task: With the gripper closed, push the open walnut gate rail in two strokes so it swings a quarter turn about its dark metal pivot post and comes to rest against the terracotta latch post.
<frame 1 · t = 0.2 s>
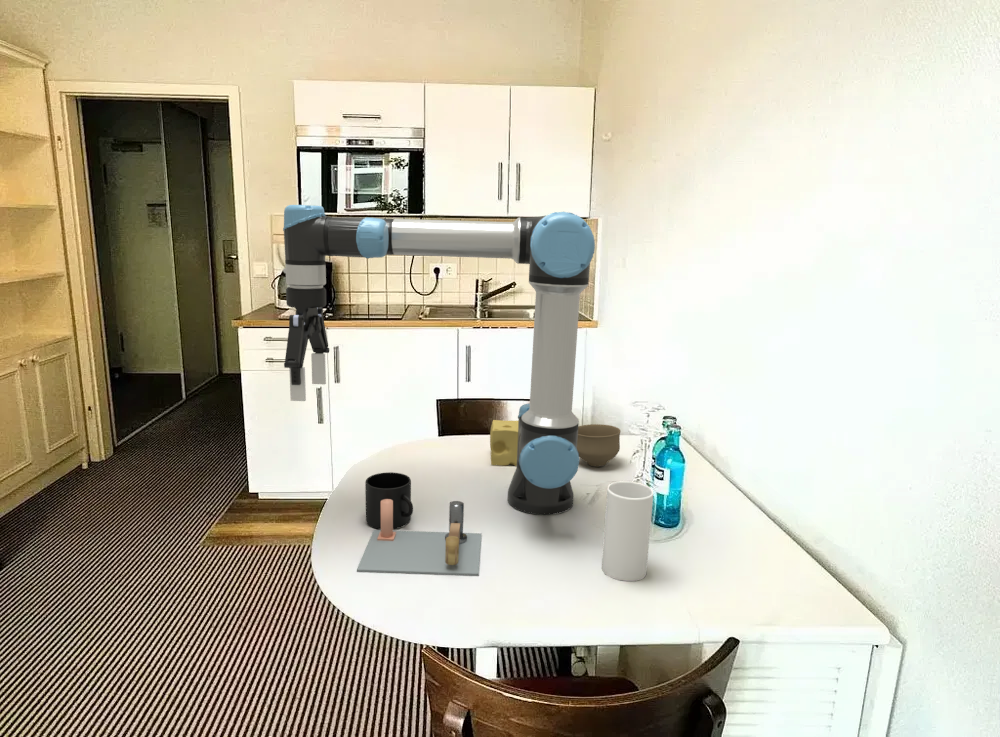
hand: (309, 392, 134), 28 cm above the table, fingers open, 13 cm apart
cheese: (509, 460, 180), on the table
latch post: (386, 538, 133), resting on mat
mug: (392, 523, 140), on the table
gate: (453, 540, 125), point 4 cm above the table, hinge at 90.0°
bowl: (594, 464, 179), on the table
mat: (422, 552, 128), on the table
cup: (623, 570, 124), on the table
pivot post: (455, 541, 133), resting on mat
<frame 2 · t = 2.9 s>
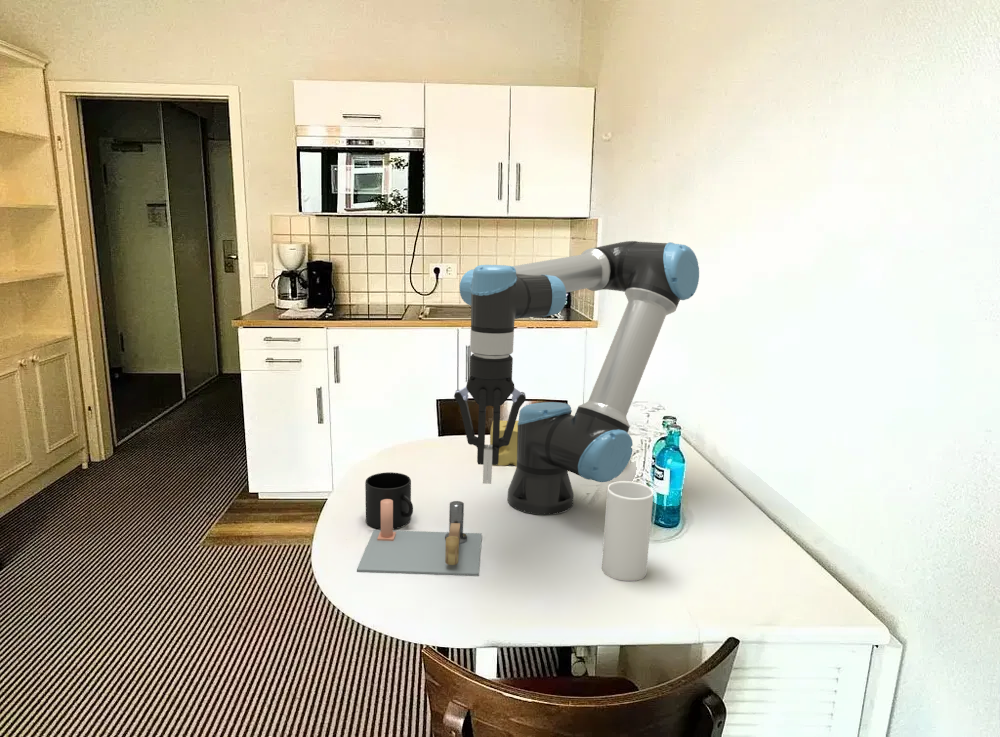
hand: (487, 480, 122), 16 cm above the table, fingers closed
nothing on the table moved.
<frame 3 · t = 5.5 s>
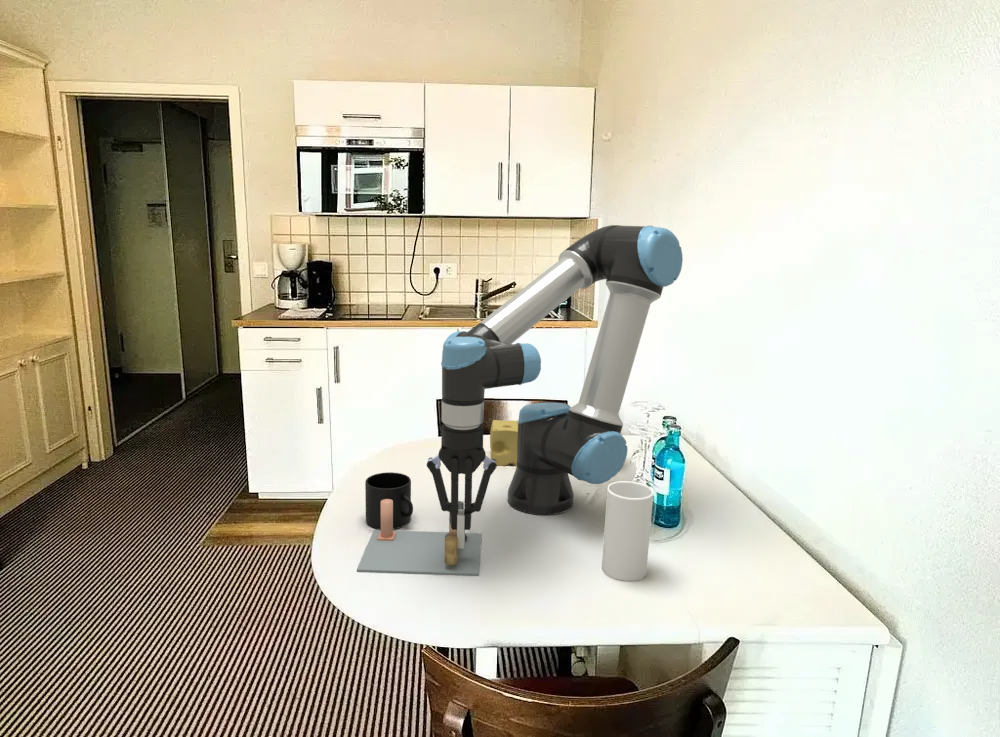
hand: (460, 544, 124), 3 cm above the table, fingers closed
gate: (453, 540, 125), point 4 cm above the table, hinge at 89.1°, touching gripper
everything else where it was.
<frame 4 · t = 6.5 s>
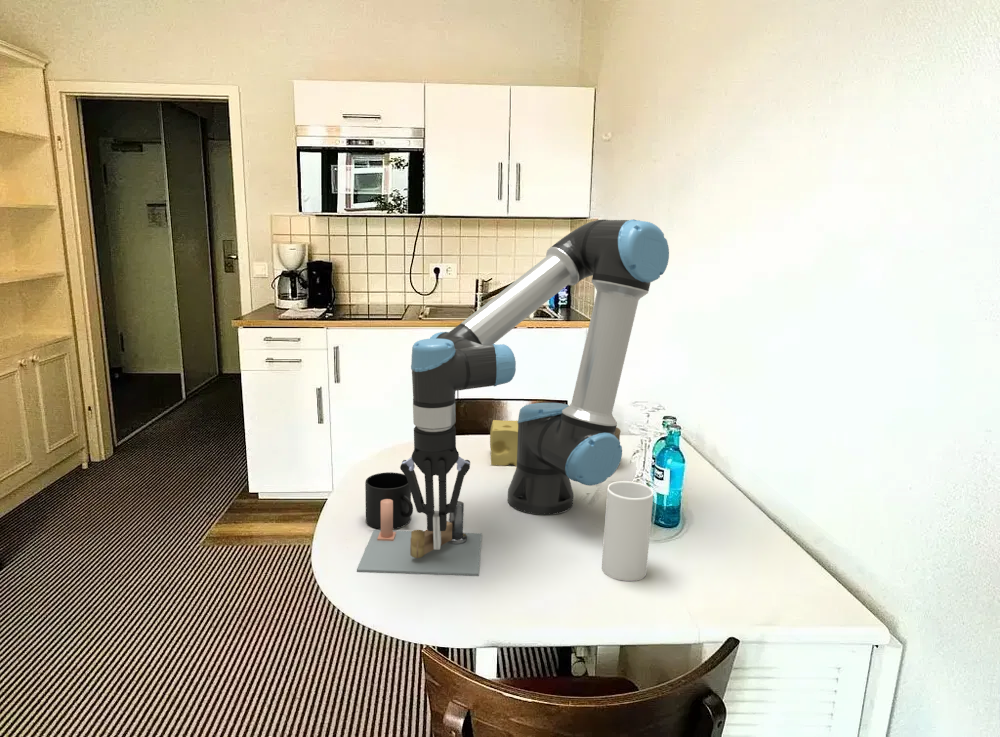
hand: (437, 545, 125), 3 cm above the table, fingers closed
gate: (431, 536, 126), point 4 cm above the table, hinge at 53.5°, touching gripper
everything else where it was.
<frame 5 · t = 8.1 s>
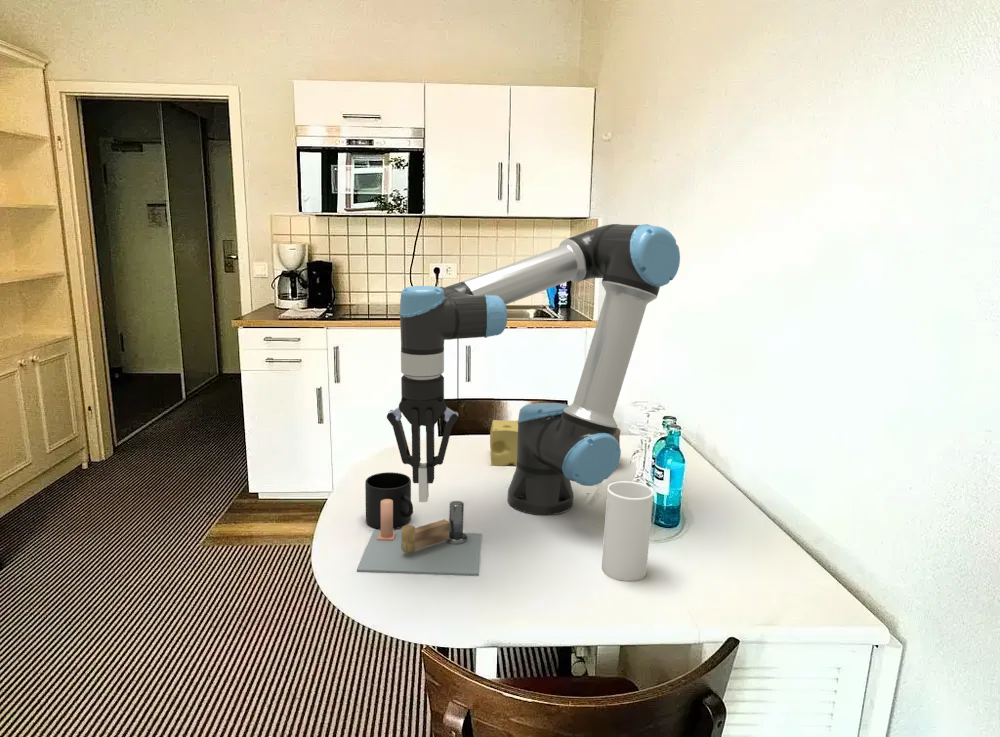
hand: (423, 498, 123), 12 cm above the table, fingers closed
gate: (425, 533, 128), point 4 cm above the table, hinge at 39.5°
everything else where it was.
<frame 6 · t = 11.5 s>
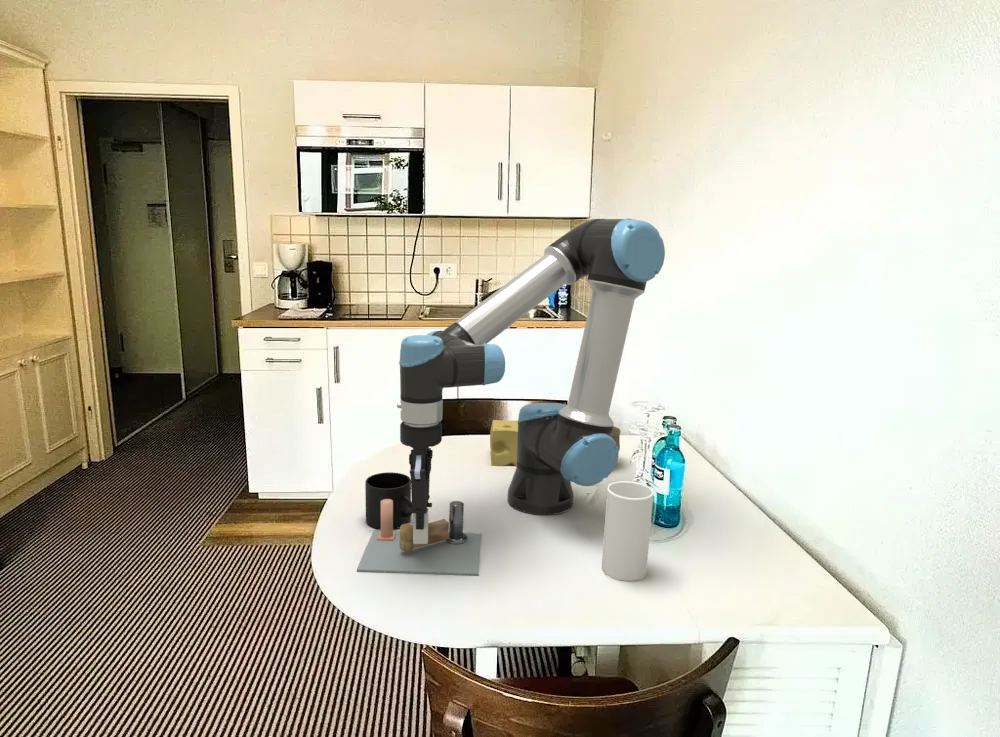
hand: (420, 542, 125), 3 cm above the table, fingers closed
gate: (424, 532, 128), point 4 cm above the table, hinge at 35.9°, touching gripper
everything else where it was.
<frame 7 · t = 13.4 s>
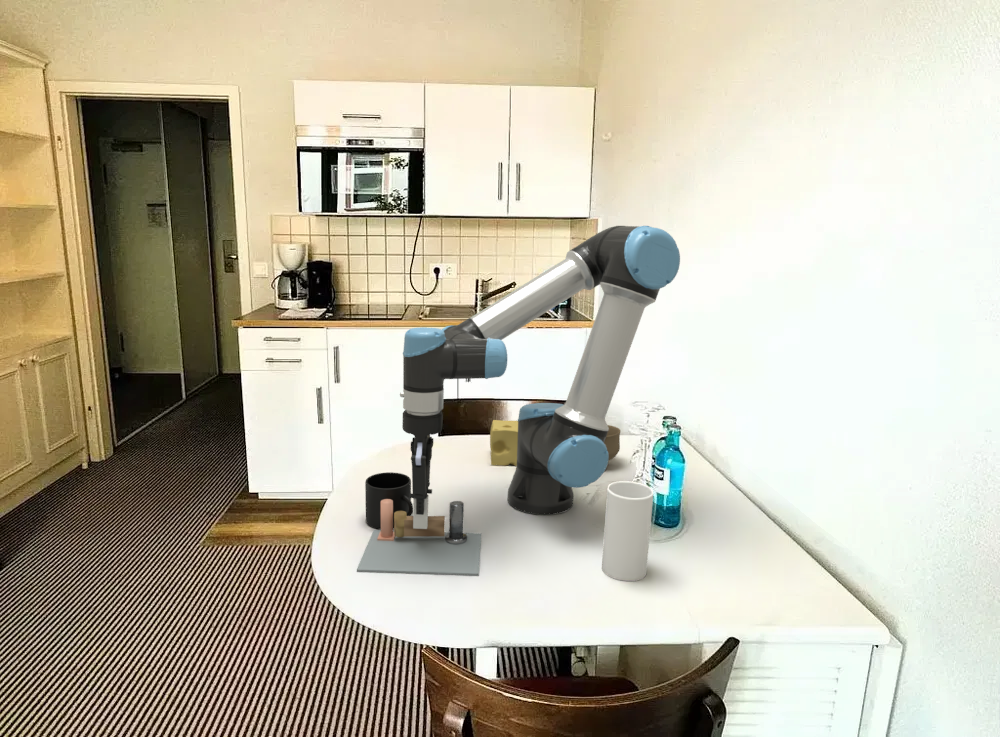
hand: (420, 527, 130), 4 cm above the table, fingers closed
gate: (419, 523, 131), point 4 cm above the table, hinge at 4.6°, touching gripper
everything else where it was.
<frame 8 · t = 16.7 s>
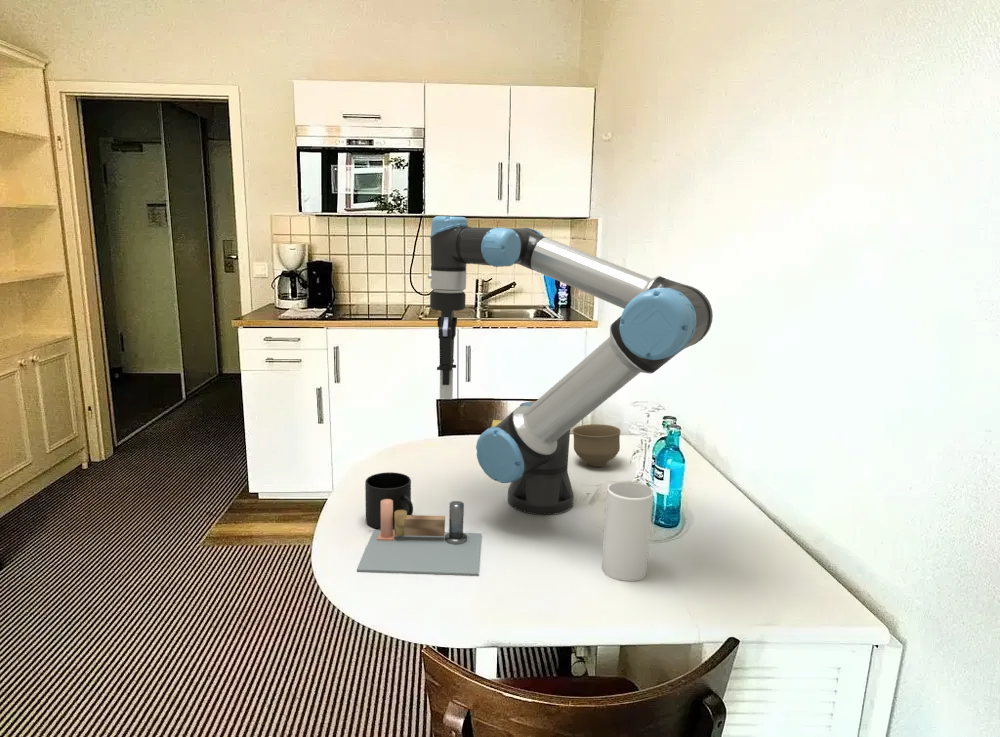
hand: (446, 398, 146), 24 cm above the table, fingers closed
gate: (419, 523, 132), point 4 cm above the table, hinge at 2.2°
everything else where it was.
at the end: gate at +2° (first picture: +90°); gate touching nothing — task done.
